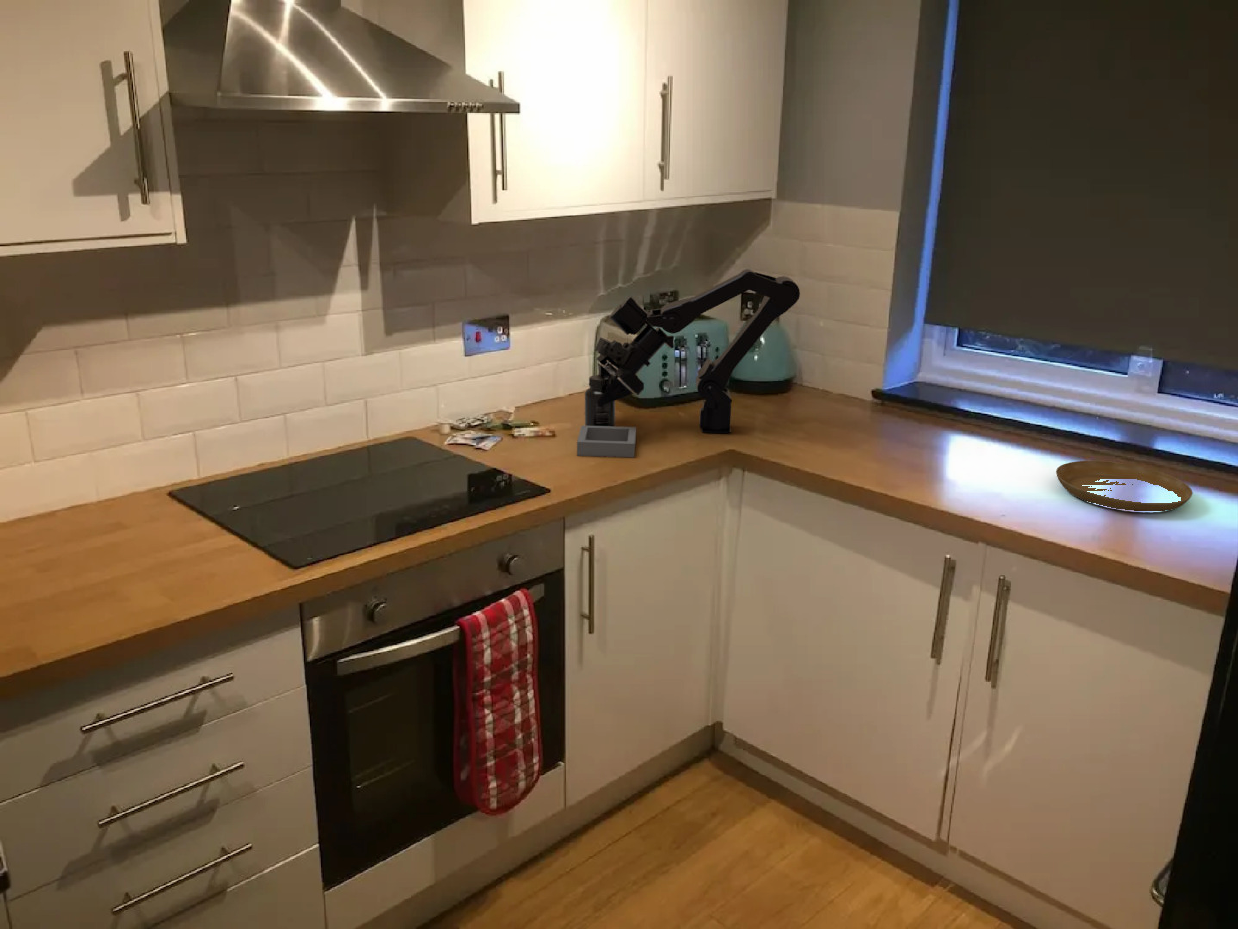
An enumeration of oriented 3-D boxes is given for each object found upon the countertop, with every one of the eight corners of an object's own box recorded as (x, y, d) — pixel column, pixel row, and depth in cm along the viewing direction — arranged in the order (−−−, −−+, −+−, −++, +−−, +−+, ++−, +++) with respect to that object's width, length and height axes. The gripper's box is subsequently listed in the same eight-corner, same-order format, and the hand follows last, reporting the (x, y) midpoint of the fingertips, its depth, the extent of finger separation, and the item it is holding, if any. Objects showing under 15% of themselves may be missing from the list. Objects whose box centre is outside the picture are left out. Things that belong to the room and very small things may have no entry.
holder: (635, 440, 231) (636, 427, 230) (634, 457, 219) (634, 443, 218) (581, 438, 231) (581, 425, 230) (576, 455, 220) (577, 441, 219)
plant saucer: (1193, 490, 208) (1196, 474, 207) (1184, 529, 188) (1188, 511, 187) (1064, 467, 219) (1066, 452, 218) (1043, 502, 200) (1046, 485, 199)
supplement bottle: (619, 426, 238) (620, 375, 234) (608, 435, 232) (609, 382, 228) (591, 422, 240) (591, 372, 236) (580, 431, 234) (580, 379, 230)
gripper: (605, 317, 238) (558, 367, 239) (630, 333, 221) (580, 388, 222) (637, 349, 243) (592, 398, 243) (664, 367, 226) (615, 420, 226)
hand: (594, 400), depth 234 cm, fingers closed on supplement bottle, 7 cm apart
